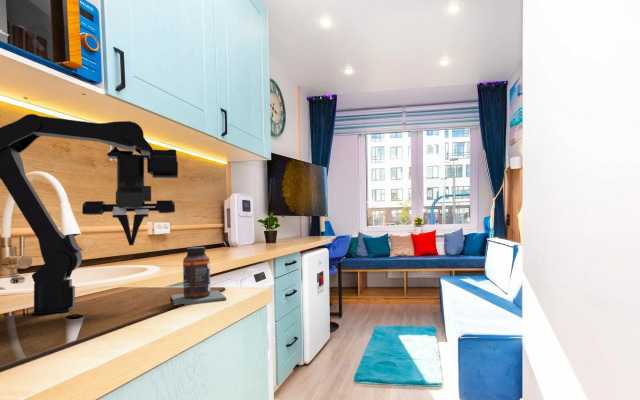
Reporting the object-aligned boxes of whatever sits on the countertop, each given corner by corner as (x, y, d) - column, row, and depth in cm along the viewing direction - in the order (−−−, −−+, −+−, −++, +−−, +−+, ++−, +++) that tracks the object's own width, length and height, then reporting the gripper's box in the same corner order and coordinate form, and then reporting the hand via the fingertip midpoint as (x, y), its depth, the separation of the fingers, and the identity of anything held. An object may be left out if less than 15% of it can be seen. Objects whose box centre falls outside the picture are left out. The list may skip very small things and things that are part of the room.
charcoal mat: (174, 305, 84) (174, 303, 84) (171, 297, 94) (171, 295, 94) (226, 300, 88) (226, 297, 88) (218, 292, 98) (218, 290, 98)
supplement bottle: (215, 294, 92) (214, 246, 93) (197, 299, 87) (196, 248, 88) (196, 293, 95) (196, 246, 96) (177, 297, 90) (177, 248, 90)
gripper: (78, 172, 79) (78, 249, 79) (175, 173, 87) (177, 244, 86) (86, 178, 90) (86, 247, 89) (172, 179, 97) (173, 242, 96)
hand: (131, 245), depth 90 cm, fingers closed
